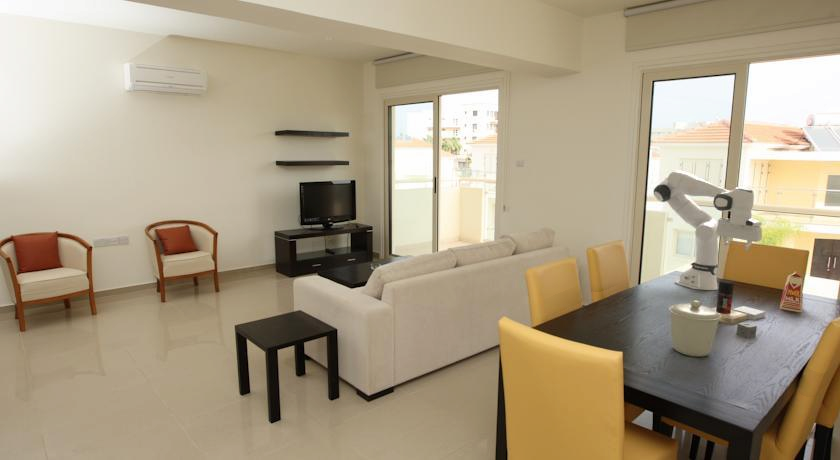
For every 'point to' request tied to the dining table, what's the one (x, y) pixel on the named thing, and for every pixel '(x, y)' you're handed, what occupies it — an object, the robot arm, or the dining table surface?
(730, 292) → the deodorant
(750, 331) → the dice cube
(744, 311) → the grey stand
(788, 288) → the milk carton
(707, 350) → the canister
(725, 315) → the oak stand
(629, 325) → the dining table surface
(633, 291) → the dining table surface
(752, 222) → the robot arm
